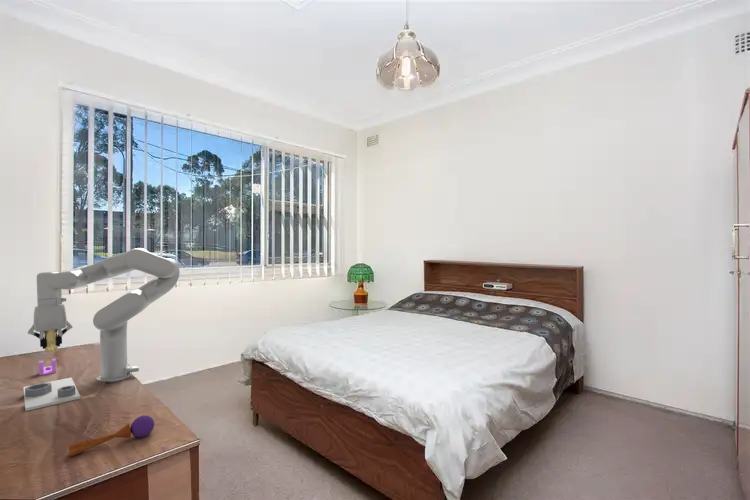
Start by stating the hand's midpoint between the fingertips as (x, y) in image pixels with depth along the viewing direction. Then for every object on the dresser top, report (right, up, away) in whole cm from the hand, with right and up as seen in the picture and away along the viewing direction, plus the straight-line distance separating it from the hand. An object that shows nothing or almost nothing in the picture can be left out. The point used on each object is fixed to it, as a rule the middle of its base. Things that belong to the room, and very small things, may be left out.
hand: (51, 346), depth 154 cm
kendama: (+57, -16, -46) cm, 75 cm away
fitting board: (+7, -16, -8) cm, 19 cm away
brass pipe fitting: (0, -2, 0) cm, 2 cm away
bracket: (-16, -16, +17) cm, 28 cm away
